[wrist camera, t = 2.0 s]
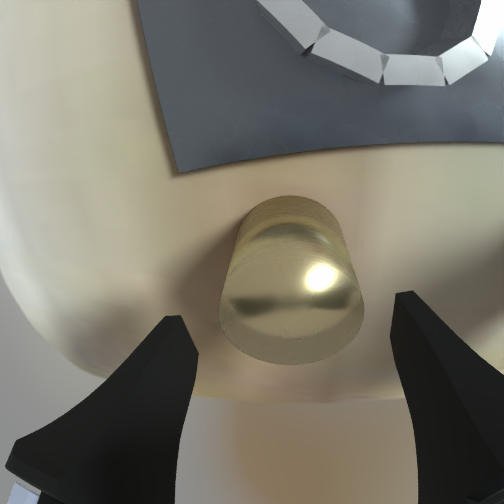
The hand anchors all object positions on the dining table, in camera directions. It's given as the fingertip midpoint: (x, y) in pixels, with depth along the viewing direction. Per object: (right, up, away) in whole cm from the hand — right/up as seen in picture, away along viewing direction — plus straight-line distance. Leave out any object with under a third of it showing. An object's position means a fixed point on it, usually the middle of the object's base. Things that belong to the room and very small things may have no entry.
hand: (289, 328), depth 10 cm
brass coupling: (+1, +3, +5) cm, 5 cm away
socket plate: (+3, +13, -2) cm, 14 cm away
